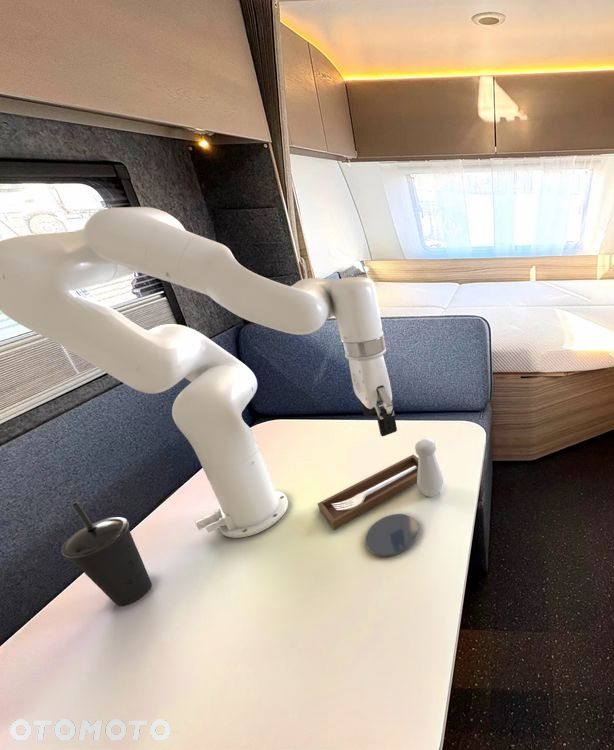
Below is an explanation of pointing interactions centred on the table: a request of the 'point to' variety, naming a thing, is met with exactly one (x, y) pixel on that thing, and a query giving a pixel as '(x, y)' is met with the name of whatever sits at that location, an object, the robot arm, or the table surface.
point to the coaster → (392, 535)
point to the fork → (368, 492)
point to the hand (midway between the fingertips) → (380, 423)
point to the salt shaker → (428, 468)
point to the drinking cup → (109, 558)
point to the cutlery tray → (373, 499)
